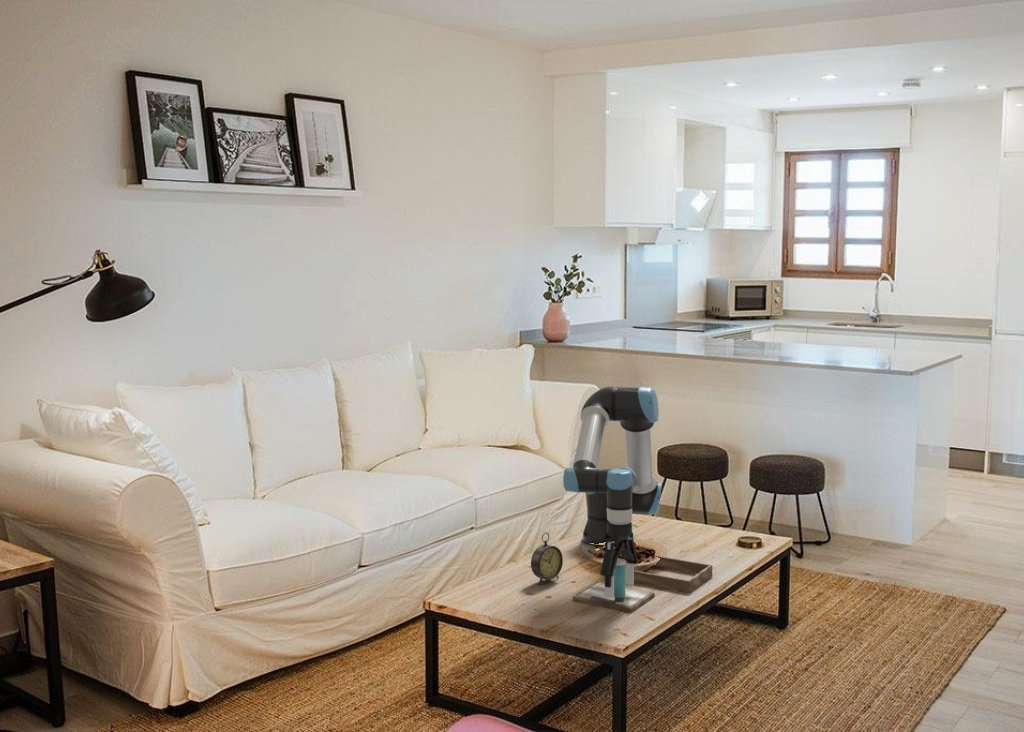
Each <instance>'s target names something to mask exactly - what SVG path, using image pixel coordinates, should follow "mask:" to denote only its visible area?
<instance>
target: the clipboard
mask: <svg viewBox="0 0 1024 732" xmlns="http://www.w3.org/2000/svg"><path fill="white" fill-rule="evenodd" d="M654 597H656V593H655V592H653V591H649V590H644V589H643V590H642V589H638V588H633V587H627V586H625V597H624V601H623V602H616V601H615V597H614V598H610V597H605V582H602V581H596V582H594V583H593V584H590V585H589V586H587V587H586V588H584V589H583V590H581V591H580V592H577V593H576V594H574V595H573V596H572V601H574V602H579V603H582V604H583V603H584V604H589V605H594V606H599V607H603V608H609V609H613V610H618V611H623V612H626V613H632V612H634V611H636V610H637V609H639V608H640V607H641V606H643V605H644V604H645V603H647V602H648V601H650V600H651V599H653V598H654Z"/></svg>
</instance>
